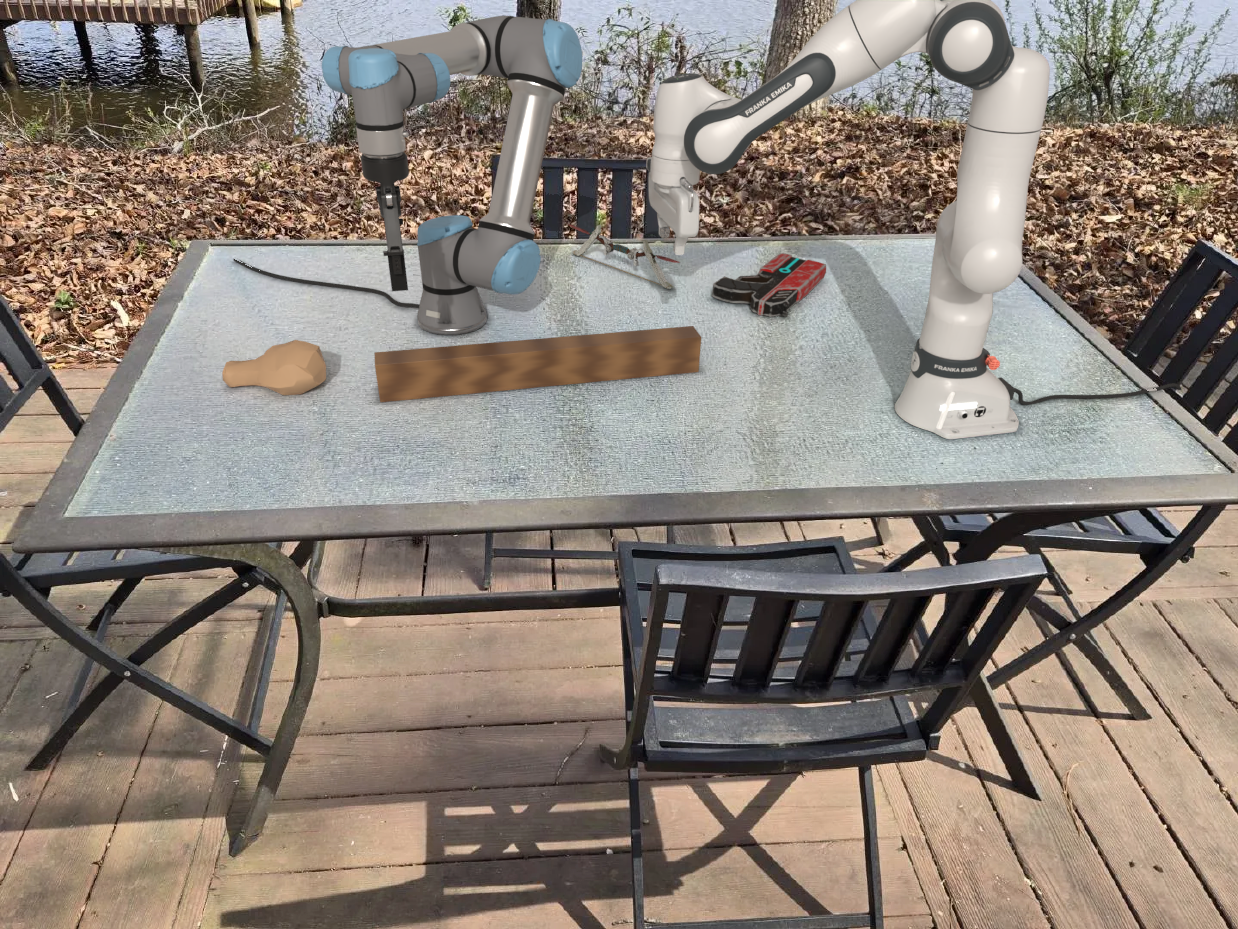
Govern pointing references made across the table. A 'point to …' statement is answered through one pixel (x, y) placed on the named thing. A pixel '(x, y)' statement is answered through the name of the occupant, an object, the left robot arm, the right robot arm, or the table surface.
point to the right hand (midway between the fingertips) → (671, 244)
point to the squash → (280, 369)
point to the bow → (631, 253)
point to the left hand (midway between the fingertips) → (398, 275)
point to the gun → (772, 285)
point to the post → (535, 363)
